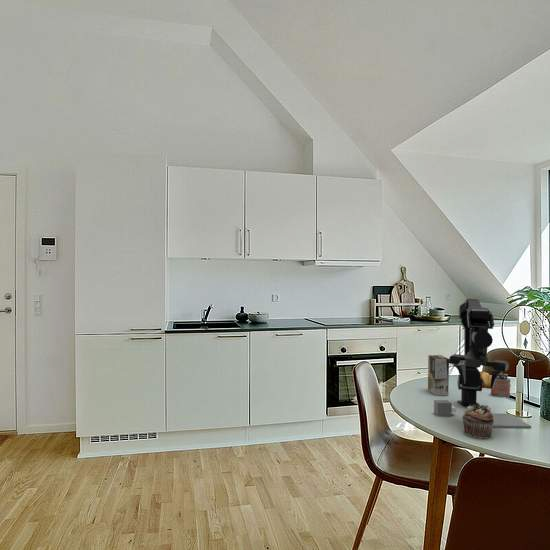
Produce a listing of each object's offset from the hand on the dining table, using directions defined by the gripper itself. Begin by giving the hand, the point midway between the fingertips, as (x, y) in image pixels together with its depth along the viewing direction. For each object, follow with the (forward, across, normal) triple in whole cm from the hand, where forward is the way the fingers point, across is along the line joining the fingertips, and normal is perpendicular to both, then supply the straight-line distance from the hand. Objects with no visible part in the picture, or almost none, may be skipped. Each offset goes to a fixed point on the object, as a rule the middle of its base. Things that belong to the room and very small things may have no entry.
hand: (477, 386), depth 154 cm
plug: (+13, -12, 0) cm, 18 cm away
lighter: (+14, -2, +43) cm, 46 cm away
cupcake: (+13, +3, -12) cm, 18 cm away
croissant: (+15, -11, +58) cm, 61 cm away
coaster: (+13, +7, +7) cm, 16 cm away
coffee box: (+14, -24, +29) cm, 41 cm away
